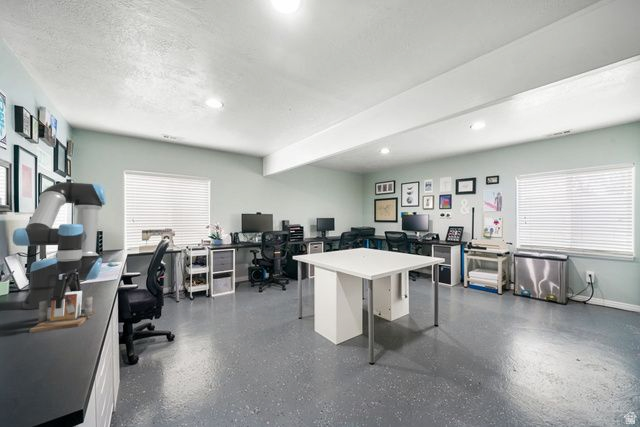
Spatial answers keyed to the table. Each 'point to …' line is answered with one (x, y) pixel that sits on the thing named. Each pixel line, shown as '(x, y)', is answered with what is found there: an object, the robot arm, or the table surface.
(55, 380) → the table surface
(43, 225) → the robot arm
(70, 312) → the small box
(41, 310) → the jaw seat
